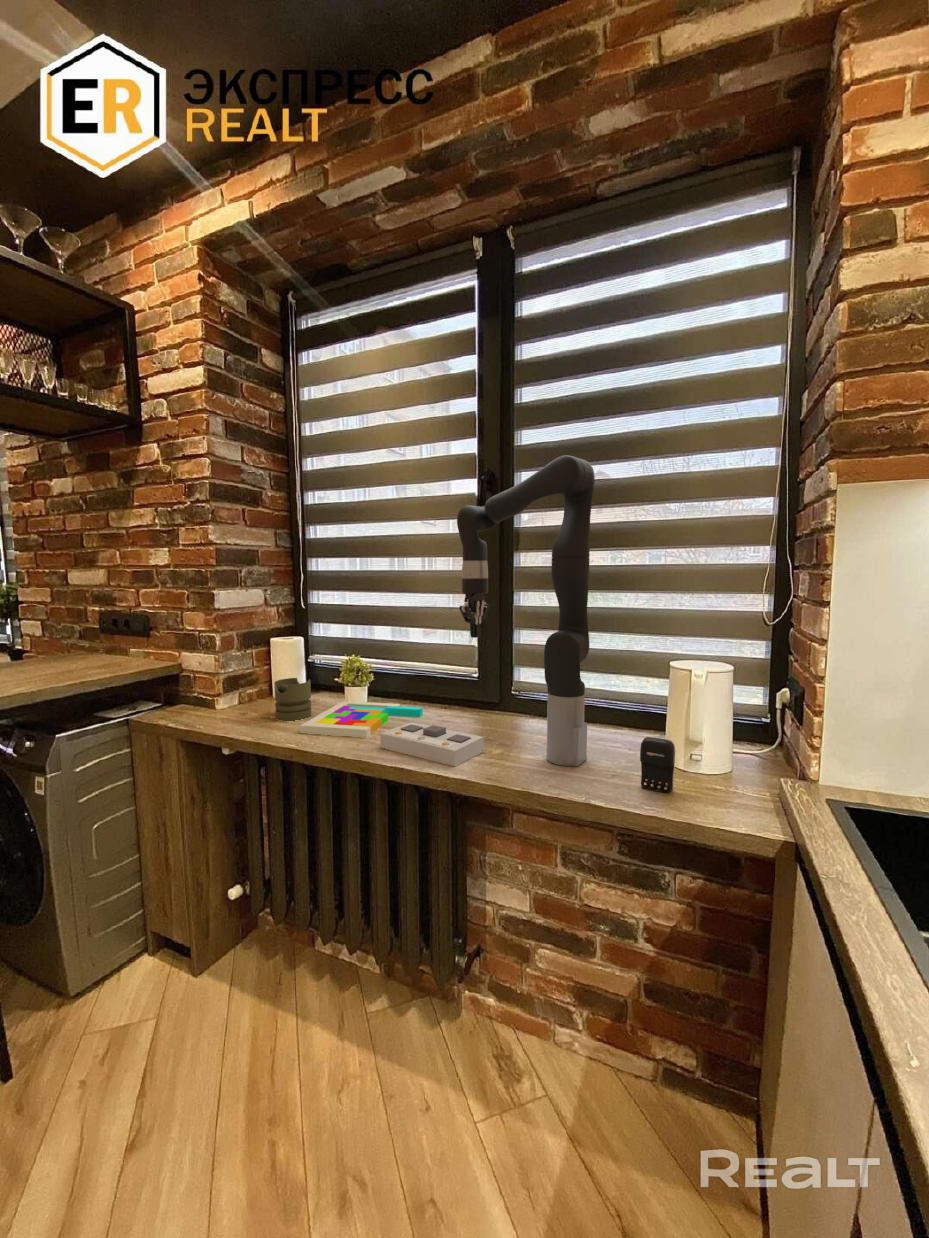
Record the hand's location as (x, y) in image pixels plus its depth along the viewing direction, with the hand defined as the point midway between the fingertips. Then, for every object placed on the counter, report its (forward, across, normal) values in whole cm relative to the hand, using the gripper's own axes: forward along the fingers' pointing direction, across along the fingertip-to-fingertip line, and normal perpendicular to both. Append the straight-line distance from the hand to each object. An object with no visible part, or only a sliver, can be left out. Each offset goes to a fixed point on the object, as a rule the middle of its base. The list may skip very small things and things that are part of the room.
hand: (475, 637), depth 151 cm
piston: (+29, -17, +61) cm, 70 cm away
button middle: (+26, -15, +3) cm, 31 cm away
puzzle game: (+30, -8, +36) cm, 47 cm away
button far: (+28, -15, +11) cm, 33 cm away
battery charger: (+29, -10, -54) cm, 62 cm away
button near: (+27, -15, -5) cm, 32 cm away
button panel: (+29, -17, +3) cm, 34 cm away
